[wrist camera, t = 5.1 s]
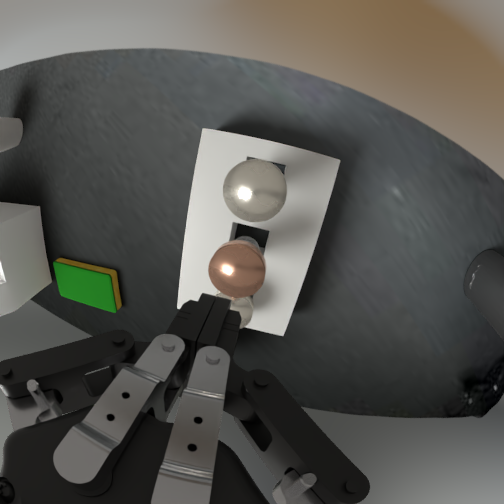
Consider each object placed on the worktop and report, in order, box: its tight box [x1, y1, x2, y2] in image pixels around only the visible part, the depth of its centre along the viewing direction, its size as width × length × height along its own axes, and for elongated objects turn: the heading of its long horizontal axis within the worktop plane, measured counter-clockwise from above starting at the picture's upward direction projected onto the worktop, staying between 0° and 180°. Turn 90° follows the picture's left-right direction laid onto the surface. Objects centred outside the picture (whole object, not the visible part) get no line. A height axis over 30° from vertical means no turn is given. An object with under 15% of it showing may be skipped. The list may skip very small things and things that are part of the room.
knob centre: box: [208, 236, 266, 298], centre depth 25 cm, size 5×5×6 cm
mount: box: [177, 128, 340, 336], centre depth 31 cm, size 14×22×5 cm, turn 168°
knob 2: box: [223, 159, 287, 222], centre depth 22 cm, size 5×5×6 cm
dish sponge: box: [53, 258, 122, 313], centre depth 40 cm, size 7×14×2 cm, turn 84°
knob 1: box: [214, 290, 254, 329], centre depth 32 cm, size 5×5×6 cm
